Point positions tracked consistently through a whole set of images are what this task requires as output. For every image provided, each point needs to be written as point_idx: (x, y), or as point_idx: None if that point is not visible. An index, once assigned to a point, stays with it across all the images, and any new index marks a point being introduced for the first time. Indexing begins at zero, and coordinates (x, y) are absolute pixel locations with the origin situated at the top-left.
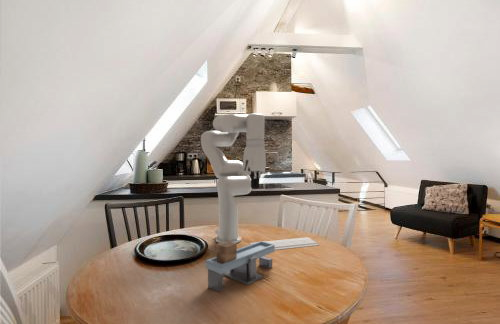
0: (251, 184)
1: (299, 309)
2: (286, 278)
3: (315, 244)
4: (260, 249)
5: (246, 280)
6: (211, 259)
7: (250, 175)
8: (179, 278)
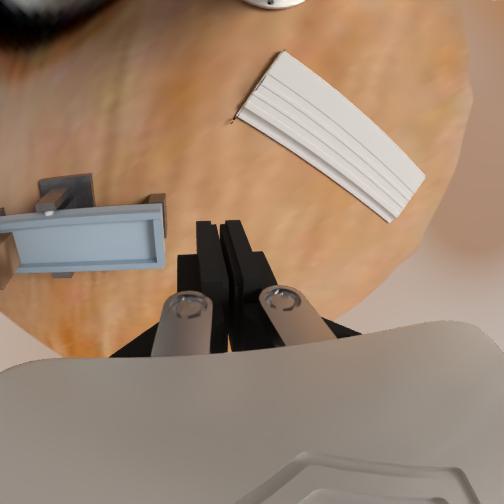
0: (178, 262)
1: (82, 351)
2: (141, 287)
3: (387, 216)
4: (101, 266)
5: None
6: None
7: (141, 356)
8: None
